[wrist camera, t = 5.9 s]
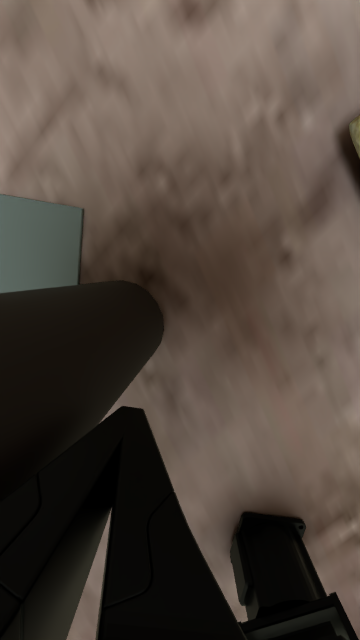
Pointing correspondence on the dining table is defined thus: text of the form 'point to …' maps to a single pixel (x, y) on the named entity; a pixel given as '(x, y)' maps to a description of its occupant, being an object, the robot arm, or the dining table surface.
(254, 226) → the dining table surface
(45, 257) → the mat
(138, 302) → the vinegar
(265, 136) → the dining table surface
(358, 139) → the olive green boot
